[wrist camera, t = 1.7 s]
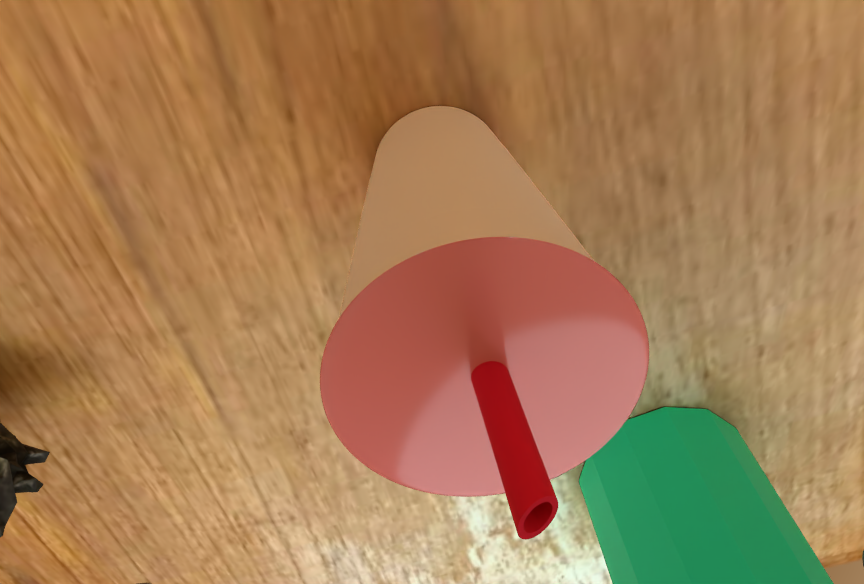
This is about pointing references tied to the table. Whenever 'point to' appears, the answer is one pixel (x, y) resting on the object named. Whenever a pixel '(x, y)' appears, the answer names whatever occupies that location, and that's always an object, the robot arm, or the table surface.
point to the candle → (691, 507)
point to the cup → (475, 326)
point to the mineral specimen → (15, 472)
